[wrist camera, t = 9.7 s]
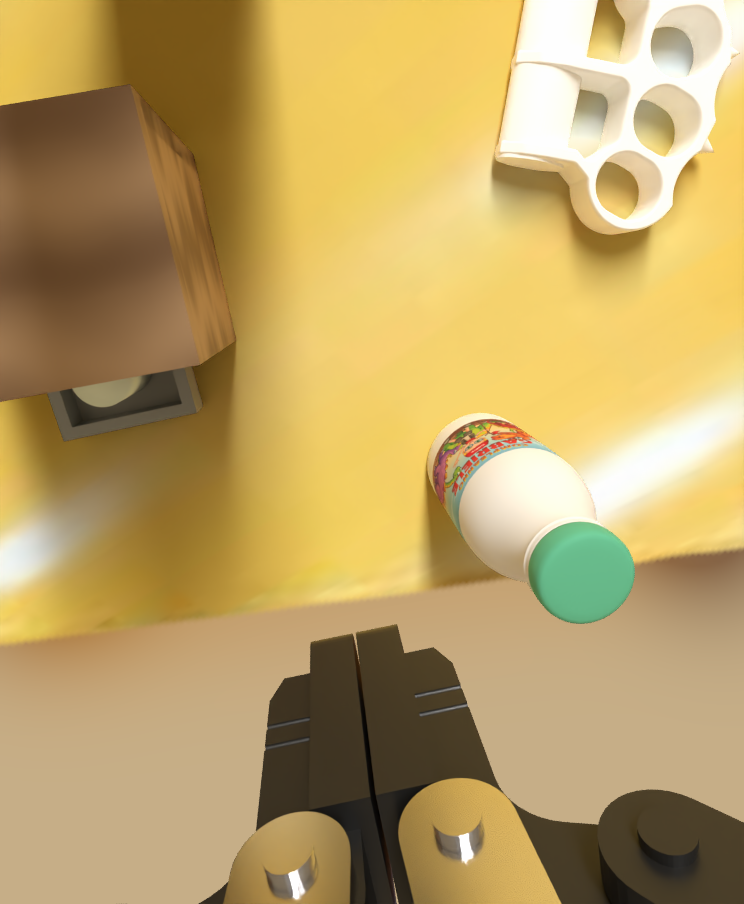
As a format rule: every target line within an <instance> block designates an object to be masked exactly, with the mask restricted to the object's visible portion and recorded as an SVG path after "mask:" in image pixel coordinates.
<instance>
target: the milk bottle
mask: <svg viewBox="0 0 744 904" xmlns="http://www.w3.org/2000/svg"><path fill="white" fill-rule="evenodd" d="M427 470H428V476H429V480H430V483H431V485H432V487H433V489H434V491H435V493H436V495H437V497H438V498H439V500H440V502H441V503H442V505H443V507H444V508H445V510H446V512H447V513H448V515H449V517H450V518H451V520H452V522H453V523H454V525H455V526H456V528H457V530H458V531H459V533H460V534H461V536H462V537H463V539H464V540H465V542H466V543H467V544H468V546H469V547H470V548H471V550H472V551H473V553H474V554H475V555H476V556H477V557H478V558H479V559H480V560H481V561H482V562H483V563H485V564H486V565H487V566H488V567H490V568H491V569H493V570H494V571H496V572H497V573H499V574H501V575H503V576H506V577H508V578H510V579H514V580H517V581H522V582H527V584H528V586H529V587H530V589H531V590H532V591H533V592H534V594H535V595H536V597H537V599H538V600H539V601H540V603H541V604H542V605H543V606H544V607H545V608H546V610H547V611H549V612H550V613H551V614H552V615H554V616H555V617H557V618H559V619H561V620H564V621H567V622H570V623H576V624H584V623H591V622H595V621H598V620H601V619H603V618H605V617H607V616H608V615H610V614H612V613H613V612H614V611H616V610H617V609H618V608H619V607H620V606H621V605H622V604H623V602H624V601H625V600H626V598H627V597H628V595H629V593H630V591H631V589H632V586H633V582H634V576H635V568H634V563H633V559H632V557H631V554H630V552H629V550H628V549H627V547H626V546H625V545H624V543H623V542H622V541H621V540H620V539H619V538H618V537H617V536H615V535H614V534H613V533H612V532H610V531H609V530H607V529H606V528H605V527H604V526H603V525H602V524H600V523H599V522H597V519H596V511H595V506H594V502H593V499H592V497H591V494H590V492H589V490H588V488H587V486H586V484H585V483H584V481H583V480H582V478H581V477H580V476H579V475H578V473H577V472H576V471H575V470H574V469H573V468H572V467H571V466H570V465H569V464H568V463H567V462H565V461H564V460H563V459H562V458H561V457H559V456H558V455H557V454H556V453H554V452H553V451H551V450H550V449H549V448H547V447H546V446H544V445H543V444H542V443H540V442H539V441H537V440H536V439H534V438H533V437H532V436H530V435H529V434H527V433H526V432H524V431H523V430H521V429H520V428H518V427H517V426H515V425H514V424H512V423H511V422H509V421H507V420H505V419H504V418H502V417H499V416H497V415H493V414H488V413H474V414H469V415H465V416H462V417H460V418H458V419H456V420H454V421H452V422H451V423H449V424H448V425H447V426H446V427H445V428H443V430H442V431H441V432H440V433H439V434H438V435H437V437H436V438H435V440H434V442H433V444H432V446H431V448H430V451H429V455H428V462H427Z"/></svg>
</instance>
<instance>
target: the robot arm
mask: <svg viewBox="0 0 744 904" xmlns="http://www.w3.org/2000/svg"><path fill="white" fill-rule="evenodd" d="M356 638H357V645H358V655H359V660H358V655H357V650H356V645H355V641H354V637H353V634H348V635H343V636H338V637H333V638H328V639H323V640H319V641H314V642H311V646H310V650H311V651H310V673H309V674H305V675H300V676H295V677H290V678H285V679H284V680H283V682H282V683H281V685H280V686H279V688H278V690H277V691H276V693H275V694H274V696H273V697H272V699H271V700H270V705H269V714H268V723H267V727H268V730H267V732H266V742H265V748H266V751H264V761H263V771H262V780H261V789H260V799H259V808H258V818H257V827H256V832H255V833H254V834H253V835H252V836H251V837H250V838H249V839H248V840H247V841H246V842H245V843H244V845H243V846H242V848H241V849H240V851H239V852H238V854H237V856H236V858H235V860H234V862H233V865H232V868H231V872H230V876H229V881H228V882H227V883H226V884H225V885H224V886H223V887H222V888H221V889H220V890H218V891H217V892H216V893H214V894H213V895H212V896H211V897H209V898H207V899H206V900H204V901H202V902H201V903H199V904H397V903H396V896H395V888H396V893H397V897H398V902H399V904H744V823H743V822H741V821H739V820H737V819H735V818H732V817H730V816H728V815H726V814H724V813H722V812H720V811H718V810H715V809H713V808H711V807H709V806H707V805H705V804H703V803H700V802H698V801H696V800H694V799H692V798H689V797H687V796H684V795H681V794H677V793H674V792H670V791H663V790H641V791H635V792H631V793H627V794H625V795H623V796H621V797H618V798H617V799H616V800H614V801H613V802H611V803H610V805H608V807H607V808H606V809H605V810H604V812H603V814H602V815H601V817H600V821H599V824H598V825H595V824H582V823H569V822H559V821H552V820H548V819H544V818H541V817H538V816H536V815H533V814H531V813H529V812H527V811H525V810H523V809H521V808H520V807H518V806H517V805H516V804H514V803H513V802H512V801H511V800H510V799H509V798H508V797H507V796H506V795H505V794H504V793H503V791H502V790H501V789H500V787H499V785H498V783H497V781H496V779H495V777H494V774H493V772H492V769H491V766H490V763H489V761H488V758H487V755H486V752H485V750H484V747H483V744H482V742H481V739H480V736H479V734H478V731H477V728H476V726H475V723H474V720H473V717H472V715H471V712H470V709H469V707H468V705H467V701H466V698H465V696H464V693H463V690H462V689H461V686H460V682H459V680H458V677H457V674H456V671H455V669H454V666H453V663H452V662H451V661H449V660H448V659H447V658H446V657H444V656H443V655H442V654H441V653H440V652H438V651H437V650H436V649H434V648H428V649H424V650H419V651H415V652H409V653H404V650H403V646H402V642H401V639H400V634H399V630H398V626H397V624H396V625H391V626H386V627H381V628H376V629H371V630H367V631H362V632H357V633H356ZM359 663H360V665H359ZM393 879H394V881H393ZM394 883H395V888H394Z"/></svg>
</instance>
